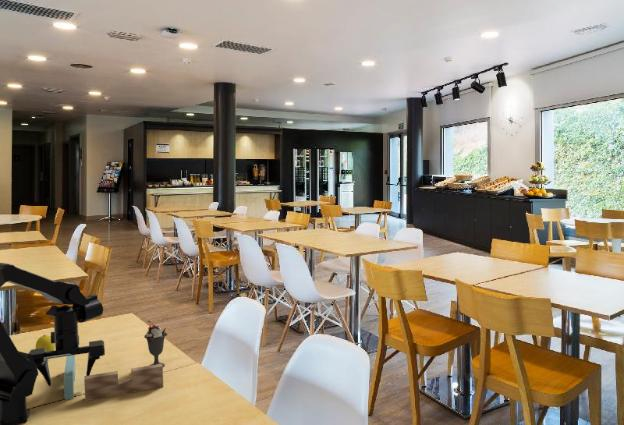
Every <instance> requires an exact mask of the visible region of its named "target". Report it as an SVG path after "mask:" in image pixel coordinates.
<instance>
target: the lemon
mask: <svg viewBox="0 0 624 425" xmlns="http://www.w3.org/2000/svg"><path fill="white" fill-rule="evenodd" d="M40 348H45V349H46V352H48V351H55V343H51V335H48V334H43V335H42V336H40V337H38V339H37V340H36V342H35V348H34V349H40Z"/></svg>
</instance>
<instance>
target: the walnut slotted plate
mask: <svg viewBox="0 0 624 425" xmlns="http://www.w3.org/2000/svg"><path fill="white" fill-rule="evenodd" d="M149 365H150V366H149ZM149 365H147V366H141V367H140V366H139V367H134V368H130V378H131V379H125V380H119V372H118V370H115V371H110V372H109V371H108V372H103V373H96V374H90V375H89V376H86V375H85V376H84V379H83V380H84V383H83V384H84V401H85V402H86V401H92V400H98V399H104V398H108V397H113V396H119V395H125V394H131V393H136V392H142V391H147V390H152V389H158V388H164V371H163V370H164V369H163V368H164V367H163V366H162V364H157V365H151V364H149Z"/></svg>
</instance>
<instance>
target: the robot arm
mask: <svg viewBox="0 0 624 425" xmlns="http://www.w3.org/2000/svg"><path fill="white" fill-rule="evenodd" d="M6 283H10V284H13V285H16V286H19V287H22V288H25V289H27V290H31V291H33V292H36V293H39V294H41V295H42V297H43V298H45V299H47V300H49V301H50V302H51V303H56V304H63V305H61V306H57V305H51V307H50V308H49V309H47V311H46V312H45V315H46V316H51V317H53V329H54V330H53V331H50V336H51V343H55V350H54V351H48V352H46V349H45V348H40V349H36V348H34V349H33V348H32V349H30V350H29V351H28V352H23V351H19V350H18V348H17V347H16V345H15V343H14V341H13V340H12V338H11V336H10V335H9V333H8V331H7V329H6V328H5V325H4V324H3V323H2V320H0V425H19V424H25V423H27V422H28V420H29V415H30V411H31V409H30V408H27V397H30V396H32V395H33V393H34V389H35V385H36V381H37V378H38V376H39V372H40V374H41V375H42V377H43V378H44V381H45V382H46V384H47V386H48V387H50V388H51V386H52V380H51V379H52V378H51V374H50V368H49V359H56V358H62V357H67V356H71V355H75V356H77V355H83V354H87V361H86V362H87V363H86V374H85V376H89V375H91V372H92V370H93V366H94V364H95V363H96V361H97V360H100V359H101V357H103V356H105V353H106V351H105V349H106V348H105V341H104V340H102V339H100V340H99V339H98V340H93V341H89V342H88V345H86V346H80V335H79V325H78V323H86V322H89V321H91V320H94V319H97V318H100V317H102V315H103V314H104V306H103V305H102V304H103V303H102V302H101V301H100V300H99V299H98V295H97V294H90V295H88V296H85V295H84V293H82V292H81V289H80V286H79V284H78V283H72V282H65V281H59V280H53V279H50V278H47V277H44V276H41V275H39V274H37V273H33V272H31V271H28V270H25V269H23V268H20V267H17V266H15V265H13V264H11V263H4V262H0V288H2V287H3V286H4V285H5V284H6Z"/></svg>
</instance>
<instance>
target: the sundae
mask: <svg viewBox="0 0 624 425" xmlns="http://www.w3.org/2000/svg"><path fill="white" fill-rule="evenodd" d="M147 323H148V324H149V327H148V330H147V332H146V333H145V334H144V337H143V338H145V339H146V341H147V346H148V347H147V348H148V351H149V354H151V355H152V356H153V359H154V361H153V363H150V364H149V365H148V366H150V365H157V364H162V366H163V368H164V367H165V366H166V365H165V363H163V362H160V361H159V360H160V359H159V356H160V355H161V354H162V353H163V350H164V344H165V337H166V336H168V333H167V332H166V327H164V329H163V330H162V328H161V327H160V326H158V325H156V324H152V323H151V321H150V320H147Z"/></svg>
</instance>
